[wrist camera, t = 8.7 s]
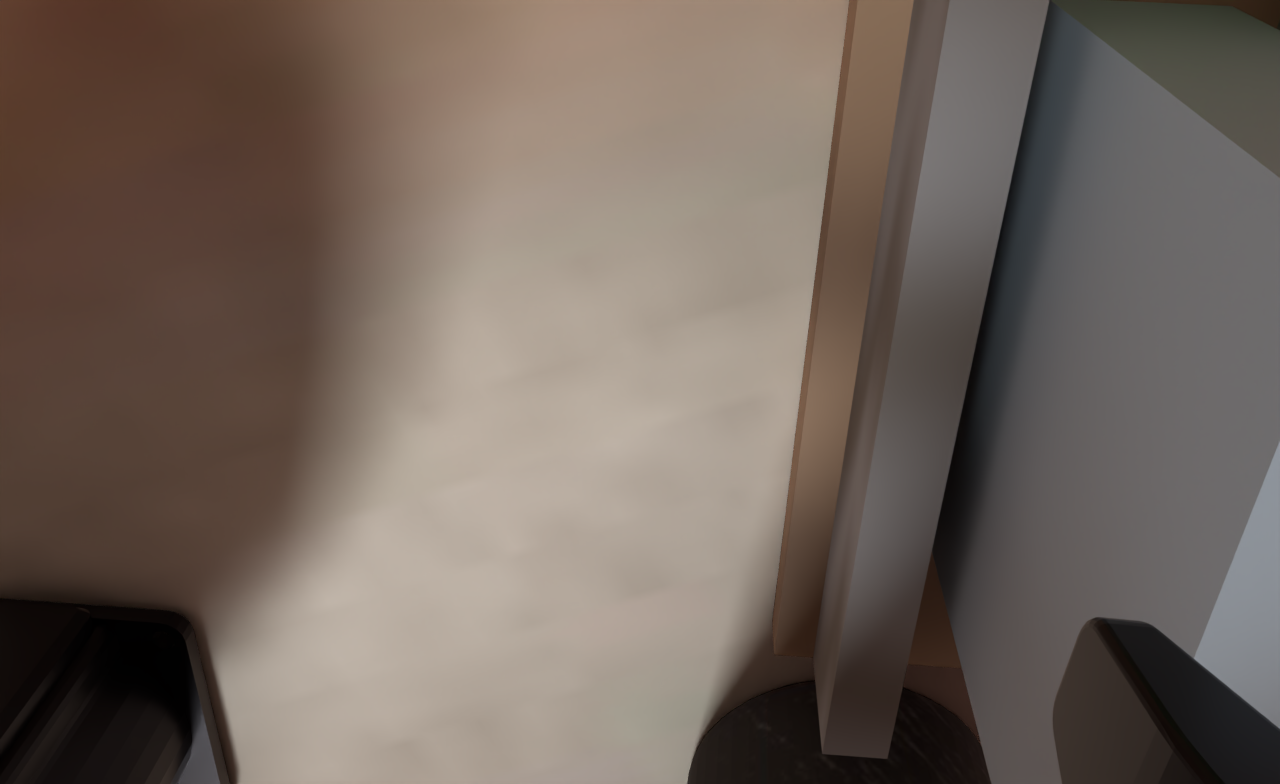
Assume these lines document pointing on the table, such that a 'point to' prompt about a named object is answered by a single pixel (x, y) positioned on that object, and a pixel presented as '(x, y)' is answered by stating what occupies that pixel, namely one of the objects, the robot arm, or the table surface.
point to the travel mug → (808, 780)
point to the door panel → (1124, 371)
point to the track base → (899, 339)
